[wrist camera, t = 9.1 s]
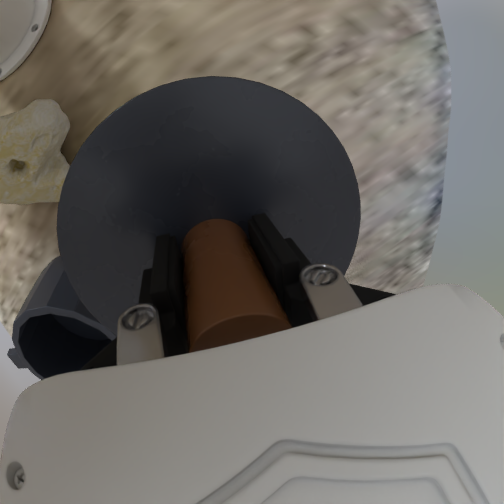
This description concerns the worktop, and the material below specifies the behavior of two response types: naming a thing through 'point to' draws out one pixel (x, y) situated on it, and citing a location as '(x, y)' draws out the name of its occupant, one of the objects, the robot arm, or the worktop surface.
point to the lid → (205, 202)
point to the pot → (56, 327)
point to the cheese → (33, 153)
